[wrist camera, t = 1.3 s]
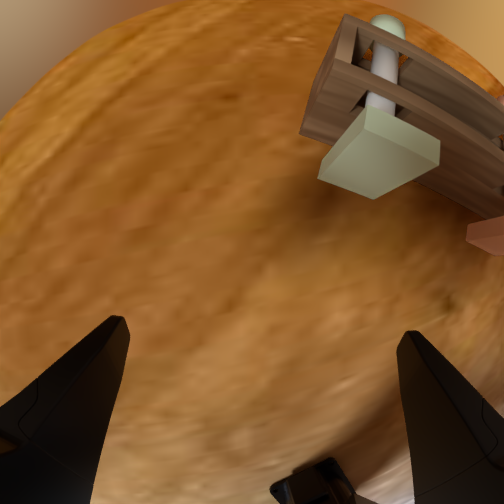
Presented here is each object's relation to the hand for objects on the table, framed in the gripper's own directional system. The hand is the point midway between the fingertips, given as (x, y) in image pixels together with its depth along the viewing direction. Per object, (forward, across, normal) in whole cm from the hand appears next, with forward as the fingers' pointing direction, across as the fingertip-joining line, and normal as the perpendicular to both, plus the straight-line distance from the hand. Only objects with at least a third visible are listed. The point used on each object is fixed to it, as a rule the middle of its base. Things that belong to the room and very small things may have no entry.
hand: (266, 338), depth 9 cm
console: (+20, -14, -2) cm, 25 cm away
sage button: (+18, -7, -5) cm, 20 cm away
